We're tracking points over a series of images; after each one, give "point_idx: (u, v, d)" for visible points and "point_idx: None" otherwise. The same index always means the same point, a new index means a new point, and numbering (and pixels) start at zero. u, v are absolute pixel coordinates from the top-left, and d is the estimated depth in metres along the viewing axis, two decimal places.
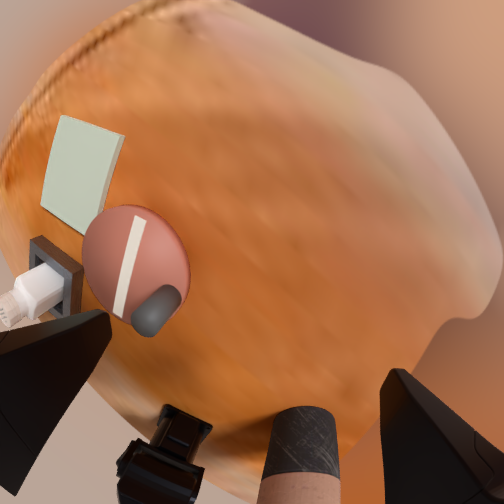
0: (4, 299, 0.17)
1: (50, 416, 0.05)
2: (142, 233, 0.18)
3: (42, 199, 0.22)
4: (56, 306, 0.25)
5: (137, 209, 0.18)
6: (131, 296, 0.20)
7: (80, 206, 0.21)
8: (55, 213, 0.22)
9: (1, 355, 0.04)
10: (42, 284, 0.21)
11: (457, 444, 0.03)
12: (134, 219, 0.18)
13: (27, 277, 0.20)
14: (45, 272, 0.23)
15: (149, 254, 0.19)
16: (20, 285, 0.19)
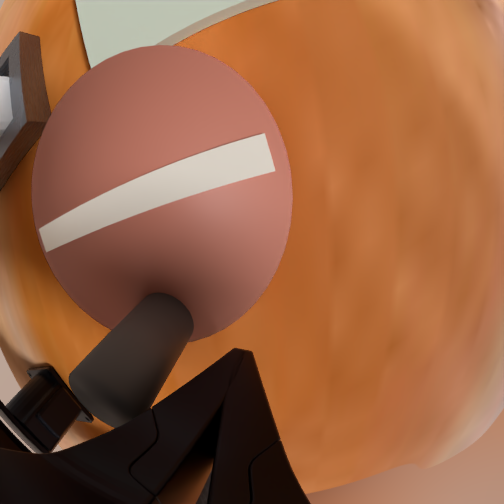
0: None
1: (200, 487, 0.04)
2: (237, 181, 0.07)
3: None
4: None
5: None
6: (91, 246, 0.08)
7: (127, 22, 0.08)
8: (81, 13, 0.07)
9: (181, 457, 0.03)
10: None
11: (241, 447, 0.04)
12: (252, 138, 0.06)
13: None
14: None
15: (205, 230, 0.07)
16: None
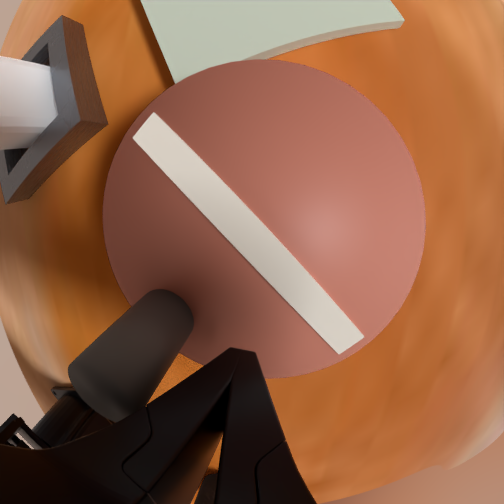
0: None
1: (195, 485, 0.04)
2: (321, 335, 0.08)
3: None
4: (10, 151, 0.10)
5: (370, 337, 0.08)
6: (182, 211, 0.07)
7: (215, 22, 0.08)
8: (146, 2, 0.07)
9: (174, 455, 0.03)
10: (13, 100, 0.07)
11: (246, 448, 0.04)
12: (357, 331, 0.08)
13: (0, 67, 0.05)
14: (36, 81, 0.08)
15: (269, 326, 0.08)
16: None
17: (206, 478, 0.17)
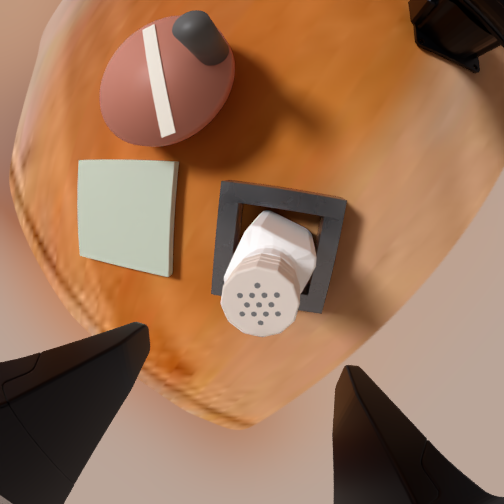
0: None
1: (89, 441, 0.05)
2: (156, 33, 0.13)
3: (160, 272, 0.21)
4: (319, 239, 0.18)
5: (142, 28, 0.13)
6: (174, 92, 0.14)
7: (143, 190, 0.19)
8: (166, 240, 0.20)
9: (38, 385, 0.03)
10: None
11: (402, 454, 0.03)
12: (143, 32, 0.13)
13: None
14: None
15: (171, 39, 0.13)
16: (231, 271, 0.14)
17: None
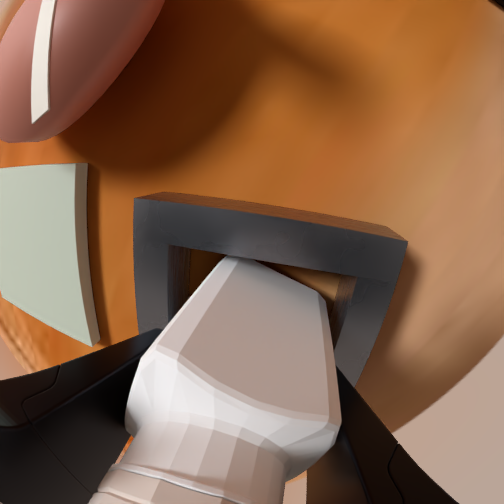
0: None
1: (111, 453, 0.05)
2: None
3: (81, 338, 0.12)
4: (341, 318, 0.08)
5: None
6: (58, 40, 0.05)
7: (42, 214, 0.10)
8: (78, 295, 0.11)
9: (62, 402, 0.03)
10: None
11: (369, 457, 0.03)
12: None
13: None
14: None
15: None
16: (130, 430, 0.05)
17: None
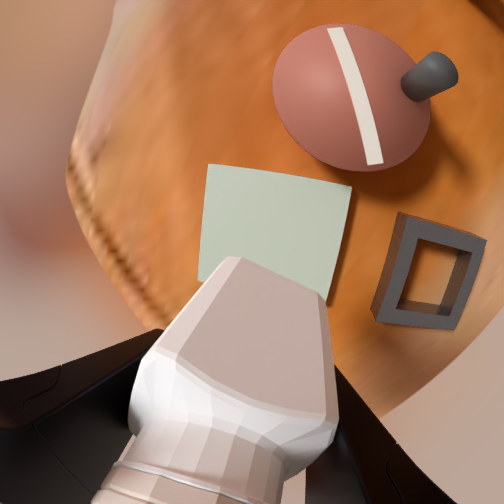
0: None
1: (112, 453, 0.05)
2: (347, 39, 0.12)
3: None
4: (463, 270, 0.16)
5: (323, 25, 0.12)
6: (379, 117, 0.13)
7: (310, 213, 0.18)
8: (331, 268, 0.19)
9: (63, 403, 0.03)
10: None
11: (368, 457, 0.03)
12: (329, 32, 0.12)
13: None
14: None
15: (368, 54, 0.12)
16: (133, 430, 0.05)
17: None
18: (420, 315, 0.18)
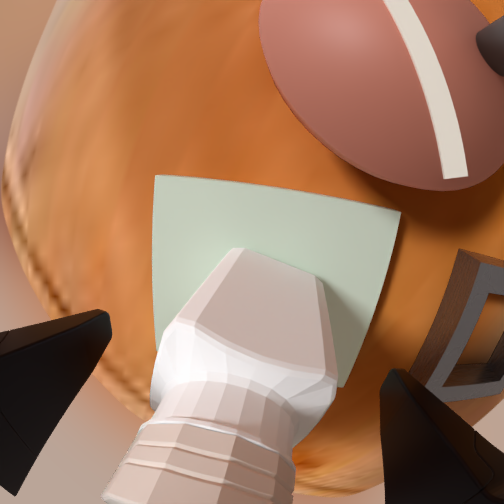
0: None
1: (50, 416, 0.05)
2: None
3: None
4: None
5: None
6: (457, 92, 0.05)
7: (330, 258, 0.10)
8: (358, 341, 0.11)
9: (1, 355, 0.04)
10: None
11: (458, 444, 0.03)
12: None
13: None
14: None
15: None
16: (155, 404, 0.06)
17: None
18: (469, 387, 0.10)
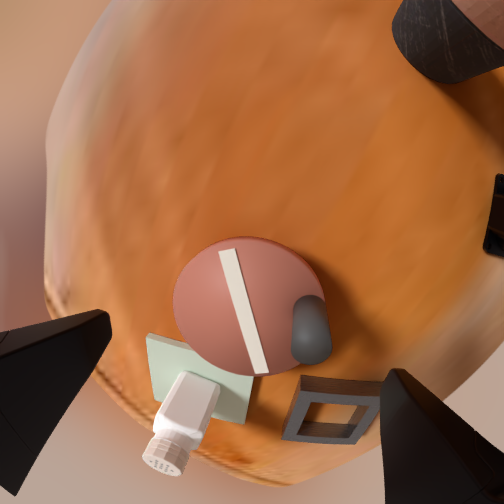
0: None
1: (50, 416, 0.05)
2: (238, 264, 0.16)
3: (237, 421, 0.24)
4: (362, 412, 0.20)
5: (216, 245, 0.16)
6: (267, 341, 0.17)
7: (224, 377, 0.22)
8: (245, 407, 0.23)
9: (1, 355, 0.04)
10: None
11: (458, 444, 0.03)
12: (220, 256, 0.16)
13: None
14: None
15: (261, 281, 0.16)
16: (154, 431, 0.17)
17: (457, 82, 0.12)
18: (319, 438, 0.21)
